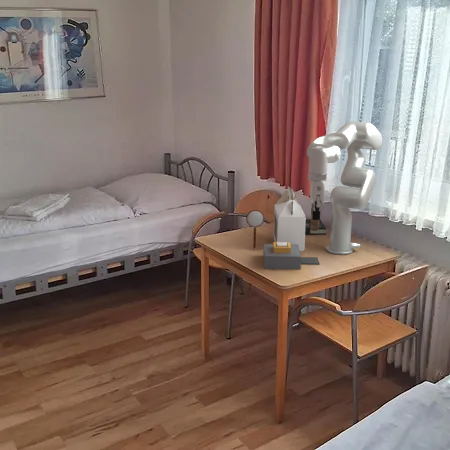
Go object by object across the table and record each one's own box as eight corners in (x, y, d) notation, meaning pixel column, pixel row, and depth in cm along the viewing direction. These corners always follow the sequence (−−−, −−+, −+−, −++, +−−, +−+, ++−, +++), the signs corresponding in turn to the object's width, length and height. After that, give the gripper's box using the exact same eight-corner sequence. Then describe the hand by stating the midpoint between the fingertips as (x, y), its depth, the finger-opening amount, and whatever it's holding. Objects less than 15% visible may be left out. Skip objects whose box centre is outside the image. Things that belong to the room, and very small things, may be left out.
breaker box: (297, 256, 256) (298, 239, 254) (300, 269, 241) (301, 251, 238) (263, 256, 257) (263, 238, 254) (264, 268, 242) (264, 250, 239)
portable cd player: (294, 235, 287) (295, 228, 286) (290, 226, 303) (290, 219, 302) (325, 235, 287) (326, 228, 286) (319, 226, 304) (320, 219, 302)
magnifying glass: (246, 250, 264) (246, 210, 258) (245, 249, 266) (246, 209, 260) (263, 249, 265) (264, 210, 259) (262, 248, 267) (263, 209, 261)
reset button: (286, 254, 250) (286, 242, 248) (286, 258, 246) (287, 245, 244) (276, 254, 250) (276, 242, 249) (276, 258, 246) (277, 245, 244)
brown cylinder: (318, 228, 239) (320, 195, 234) (319, 230, 235) (321, 197, 231) (310, 228, 239) (311, 195, 234) (311, 230, 235) (312, 197, 231)
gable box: (304, 251, 263) (306, 195, 255) (276, 251, 263) (278, 195, 255) (298, 236, 284) (301, 184, 276) (273, 236, 284) (274, 184, 276)
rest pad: (317, 258, 254) (317, 257, 254) (319, 264, 246) (319, 263, 246) (300, 258, 254) (300, 257, 254) (301, 264, 247) (301, 263, 247)
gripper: (329, 180, 222) (327, 224, 228) (323, 172, 238) (321, 213, 243) (311, 180, 222) (309, 224, 228) (306, 172, 238) (304, 213, 243)
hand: (315, 217), depth 235 cm, fingers closed on brown cylinder, 3 cm apart
